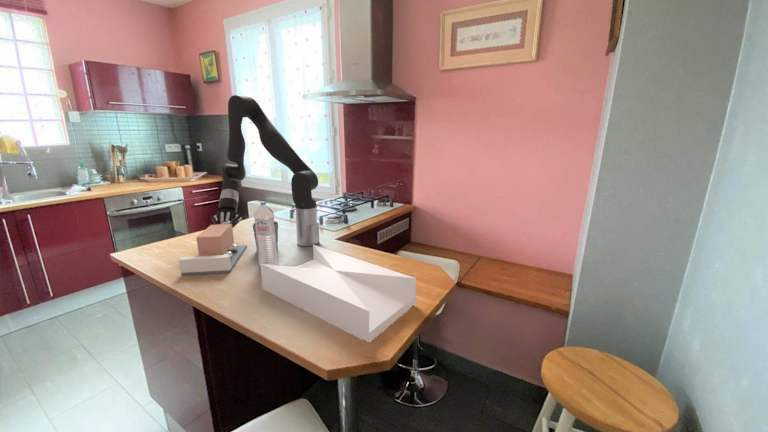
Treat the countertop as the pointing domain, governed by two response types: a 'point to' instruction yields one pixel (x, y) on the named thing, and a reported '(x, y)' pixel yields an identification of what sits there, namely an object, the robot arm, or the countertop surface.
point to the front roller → (226, 254)
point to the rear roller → (233, 248)
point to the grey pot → (275, 233)
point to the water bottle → (265, 235)
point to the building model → (343, 291)
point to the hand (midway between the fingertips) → (223, 236)
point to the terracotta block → (215, 240)
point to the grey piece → (210, 263)
